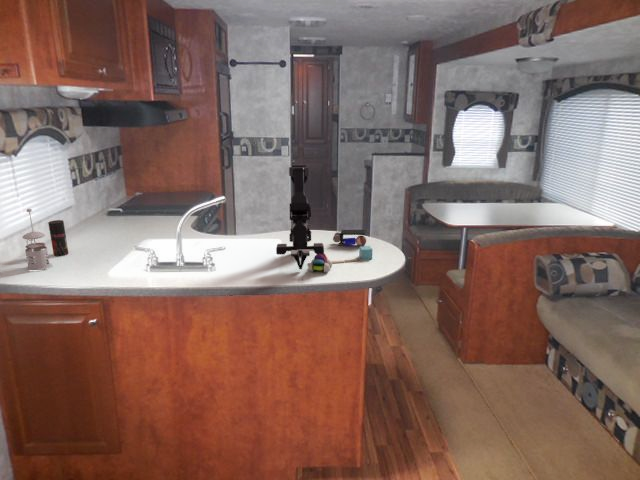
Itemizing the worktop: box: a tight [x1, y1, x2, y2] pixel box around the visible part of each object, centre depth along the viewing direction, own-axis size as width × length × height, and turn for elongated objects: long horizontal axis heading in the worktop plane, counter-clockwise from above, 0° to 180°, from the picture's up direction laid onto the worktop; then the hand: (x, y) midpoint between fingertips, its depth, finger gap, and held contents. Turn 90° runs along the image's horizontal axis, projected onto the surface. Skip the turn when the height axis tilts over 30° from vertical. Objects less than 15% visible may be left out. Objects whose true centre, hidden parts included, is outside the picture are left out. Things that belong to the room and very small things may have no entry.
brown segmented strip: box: [307, 258, 363, 266], centre depth 211 cm, size 2×23×1 cm, turn 104°
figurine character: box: [332, 229, 367, 247], centre depth 233 cm, size 7×8×15 cm
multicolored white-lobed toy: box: [307, 252, 333, 274], centre depth 201 cm, size 8×10×7 cm
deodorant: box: [48, 219, 69, 257], centre depth 221 cm, size 6×6×15 cm
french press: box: [22, 208, 53, 271], centre depth 204 cm, size 10×12×25 cm
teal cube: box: [358, 245, 373, 261], centre depth 216 cm, size 4×4×4 cm
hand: (300, 269), depth 200 cm, fingers closed
